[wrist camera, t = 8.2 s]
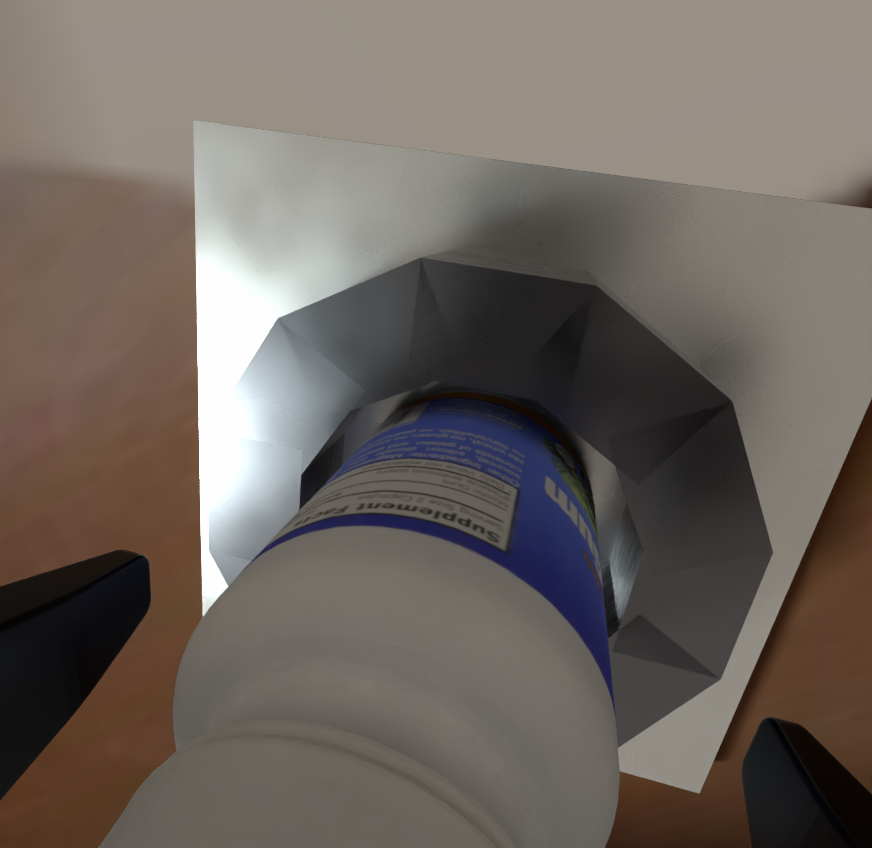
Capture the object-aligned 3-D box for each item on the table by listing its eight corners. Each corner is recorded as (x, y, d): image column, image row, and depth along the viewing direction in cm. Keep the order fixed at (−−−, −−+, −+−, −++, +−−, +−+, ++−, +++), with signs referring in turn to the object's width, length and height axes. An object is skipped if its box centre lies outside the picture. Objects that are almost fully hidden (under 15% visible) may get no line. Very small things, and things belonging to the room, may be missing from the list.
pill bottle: (591, 602, 13) (650, 1382, 4) (372, 588, 15) (67, 1180, 6) (595, 378, 12) (709, 912, 3) (346, 383, 13) (-162, 763, 4)
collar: (692, 765, 15) (724, 896, 12) (218, 635, 17) (148, 720, 14) (921, 219, 10) (1067, 217, 7) (215, 126, 12) (106, 96, 9)
